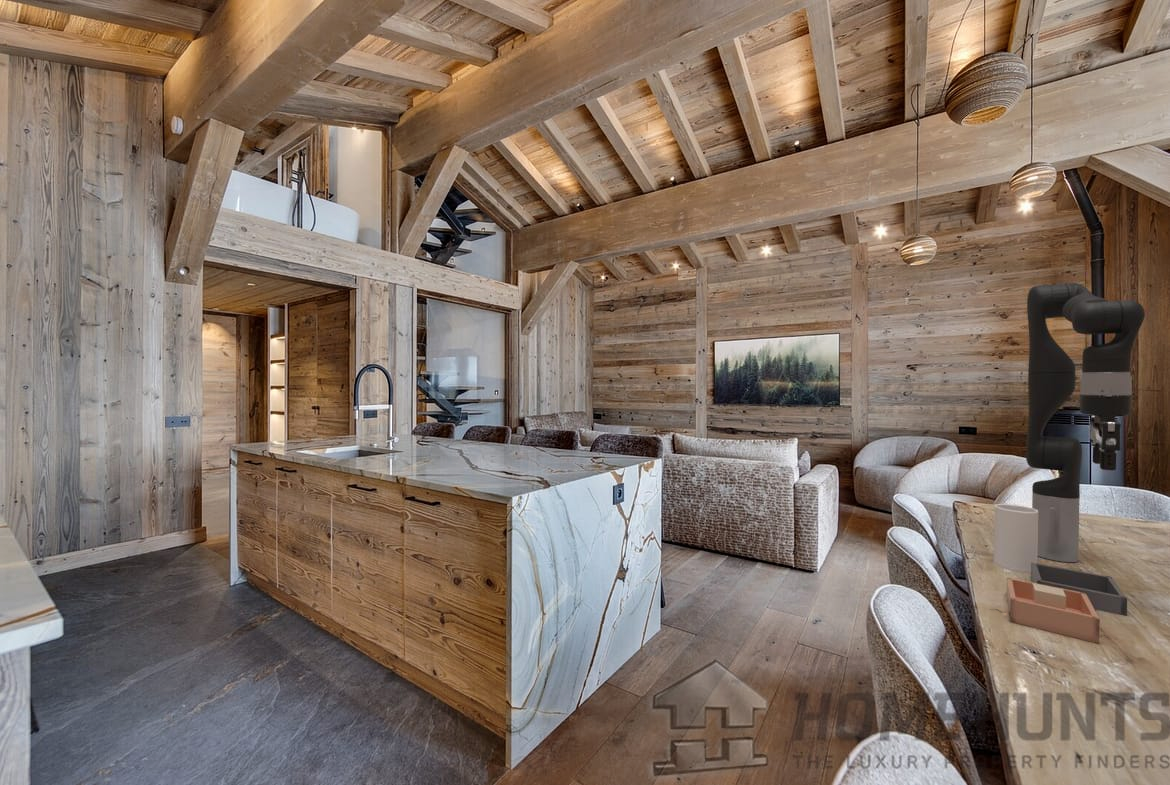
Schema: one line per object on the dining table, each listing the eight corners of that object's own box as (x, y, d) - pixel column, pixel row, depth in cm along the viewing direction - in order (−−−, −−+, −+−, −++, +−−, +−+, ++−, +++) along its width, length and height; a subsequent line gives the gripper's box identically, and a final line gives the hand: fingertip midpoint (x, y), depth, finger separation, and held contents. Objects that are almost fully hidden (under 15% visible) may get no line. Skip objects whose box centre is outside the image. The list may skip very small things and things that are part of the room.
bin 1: (1006, 597, 103) (1006, 577, 103) (1085, 614, 96) (1085, 593, 96) (1010, 621, 93) (1010, 599, 93) (1099, 643, 85) (1099, 618, 85)
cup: (1022, 577, 114) (1023, 513, 114) (985, 565, 122) (986, 504, 122) (1045, 574, 116) (1046, 510, 116) (1008, 562, 124) (1009, 502, 124)
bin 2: (1030, 580, 112) (1031, 562, 112) (1111, 596, 104) (1111, 576, 104) (1036, 601, 102) (1037, 580, 102) (1126, 620, 93) (1127, 598, 93)
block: (1032, 605, 97) (1032, 583, 97) (1062, 612, 94) (1062, 589, 94) (1034, 613, 94) (1034, 590, 94) (1065, 620, 91) (1066, 596, 91)
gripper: (1075, 391, 109) (1074, 460, 110) (1085, 394, 99) (1084, 470, 99) (1123, 392, 105) (1121, 463, 105) (1140, 394, 94) (1138, 474, 94)
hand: (1103, 466), depth 102 cm, fingers open, 8 cm apart
